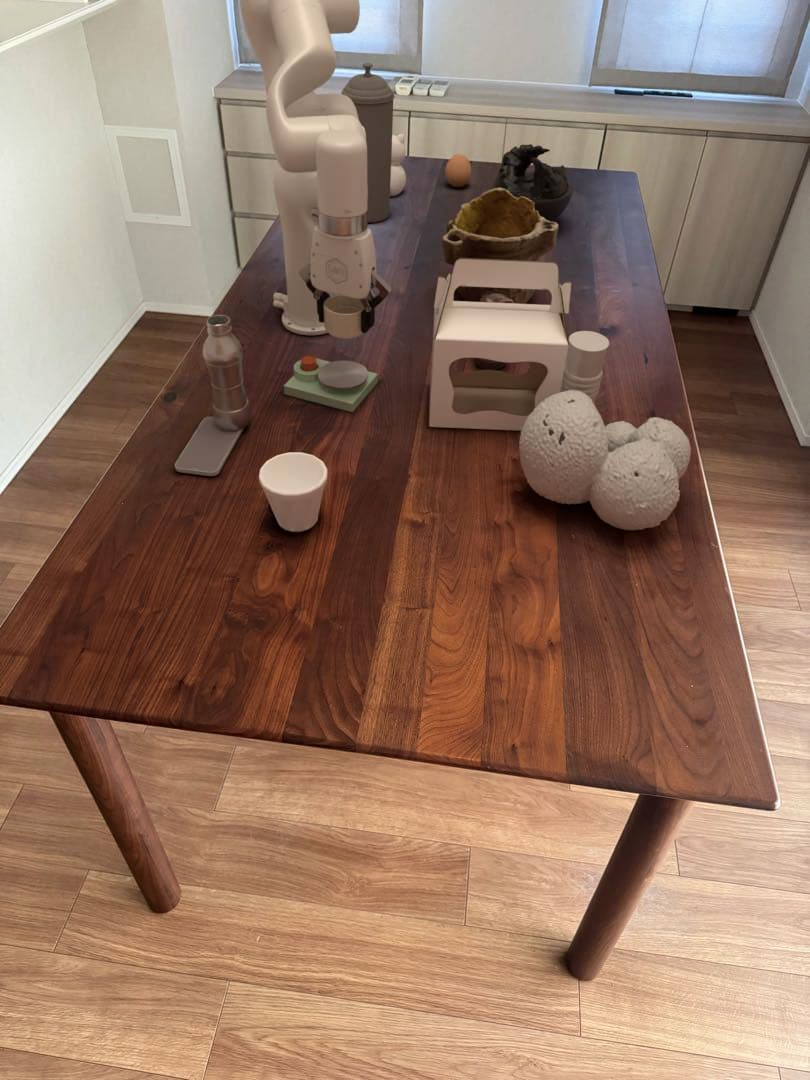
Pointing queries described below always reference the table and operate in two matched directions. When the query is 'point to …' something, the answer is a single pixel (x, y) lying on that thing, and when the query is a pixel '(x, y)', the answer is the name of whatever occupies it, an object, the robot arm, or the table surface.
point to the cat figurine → (397, 165)
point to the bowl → (343, 316)
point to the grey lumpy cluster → (603, 461)
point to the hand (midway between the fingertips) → (345, 323)
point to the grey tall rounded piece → (226, 375)
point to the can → (493, 298)
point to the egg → (458, 170)
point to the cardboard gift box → (496, 345)
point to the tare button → (308, 363)
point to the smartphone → (207, 449)
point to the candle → (585, 363)
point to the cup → (294, 489)
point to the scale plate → (343, 374)
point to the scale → (327, 388)
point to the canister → (375, 136)
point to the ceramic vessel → (498, 236)
